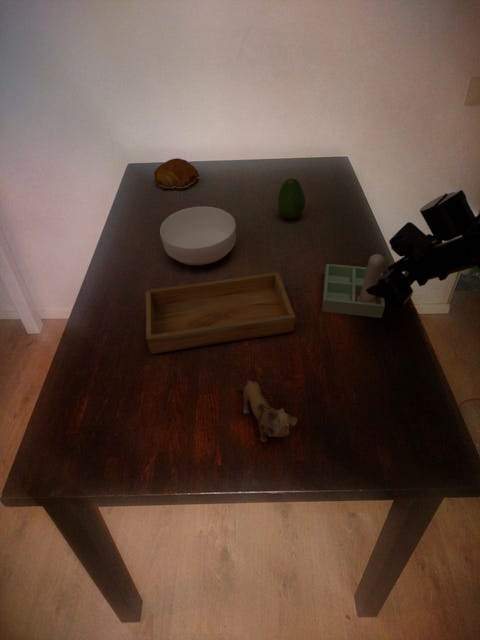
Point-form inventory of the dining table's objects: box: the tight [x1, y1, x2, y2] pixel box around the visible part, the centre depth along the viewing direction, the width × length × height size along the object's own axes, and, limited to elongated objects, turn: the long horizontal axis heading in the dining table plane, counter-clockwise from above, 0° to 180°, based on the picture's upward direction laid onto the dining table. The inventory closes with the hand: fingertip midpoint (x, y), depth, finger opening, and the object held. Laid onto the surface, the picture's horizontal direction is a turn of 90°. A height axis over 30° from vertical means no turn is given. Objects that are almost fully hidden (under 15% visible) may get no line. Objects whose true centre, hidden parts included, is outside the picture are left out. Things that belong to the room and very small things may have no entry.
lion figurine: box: [237, 380, 298, 443], centre depth 66 cm, size 15×5×9 cm, turn 35°
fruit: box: [277, 177, 306, 220], centre depth 111 cm, size 8×8×12 cm
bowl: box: [159, 205, 237, 266], centre depth 102 cm, size 20×20×8 cm
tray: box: [145, 271, 296, 355], centre depth 85 cm, size 31×15×6 cm, turn 100°
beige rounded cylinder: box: [357, 253, 386, 303], centre depth 82 cm, size 4×4×13 cm
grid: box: [321, 263, 386, 319], centre depth 89 cm, size 13×13×4 cm
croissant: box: [153, 157, 200, 192], centre depth 131 cm, size 14×16×8 cm
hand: (378, 280), depth 81 cm, fingers open, 9 cm apart
